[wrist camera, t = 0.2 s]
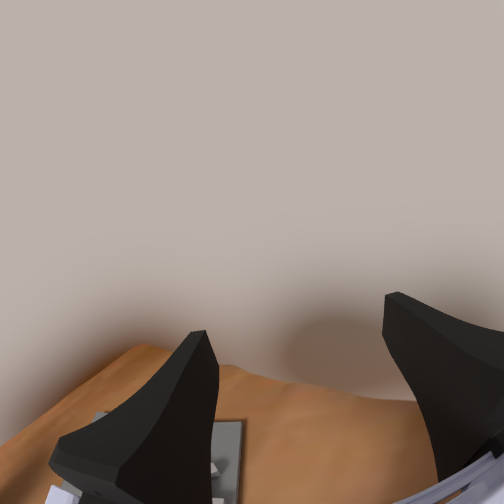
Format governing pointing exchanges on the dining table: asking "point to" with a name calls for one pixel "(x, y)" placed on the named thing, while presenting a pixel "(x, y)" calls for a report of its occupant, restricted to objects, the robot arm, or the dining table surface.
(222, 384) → the dining table surface
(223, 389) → the dining table surface
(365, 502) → the dining table surface
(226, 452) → the timing board
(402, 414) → the dining table surface
